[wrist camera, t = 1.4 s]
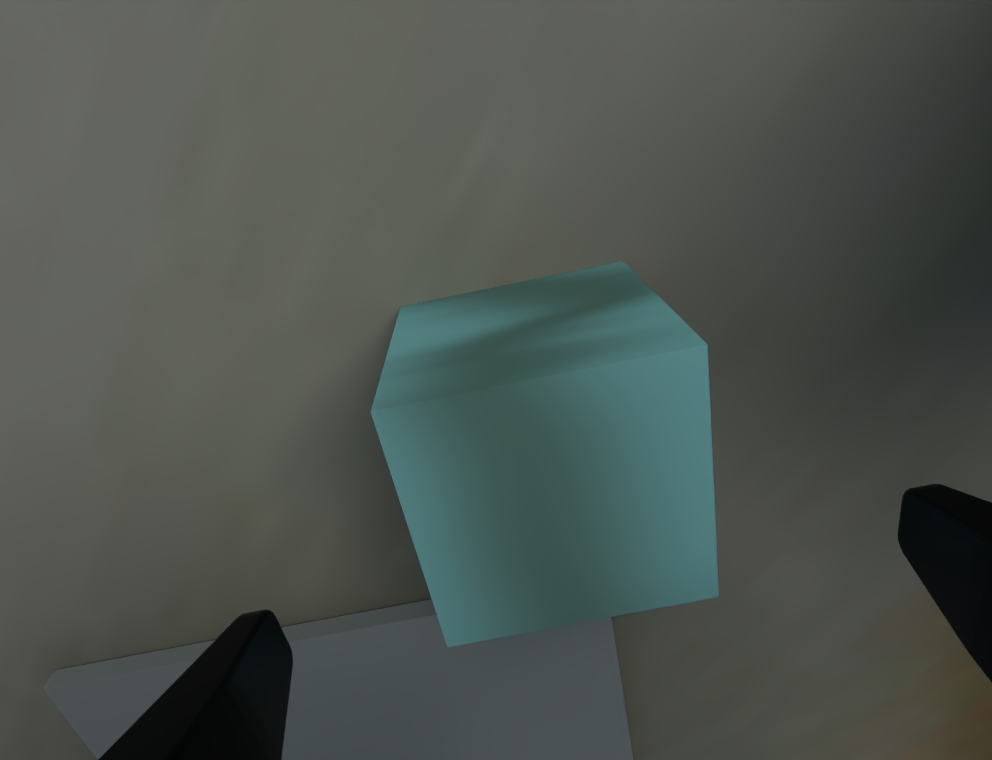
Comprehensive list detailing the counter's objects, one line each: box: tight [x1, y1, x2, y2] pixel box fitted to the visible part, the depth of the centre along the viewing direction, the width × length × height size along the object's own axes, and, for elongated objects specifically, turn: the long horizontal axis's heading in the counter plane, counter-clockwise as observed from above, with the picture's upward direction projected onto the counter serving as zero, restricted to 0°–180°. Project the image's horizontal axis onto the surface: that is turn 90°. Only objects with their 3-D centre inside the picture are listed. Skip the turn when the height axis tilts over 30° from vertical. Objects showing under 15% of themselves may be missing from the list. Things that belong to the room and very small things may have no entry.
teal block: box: [371, 261, 719, 647], centre depth 12 cm, size 5×5×5 cm
